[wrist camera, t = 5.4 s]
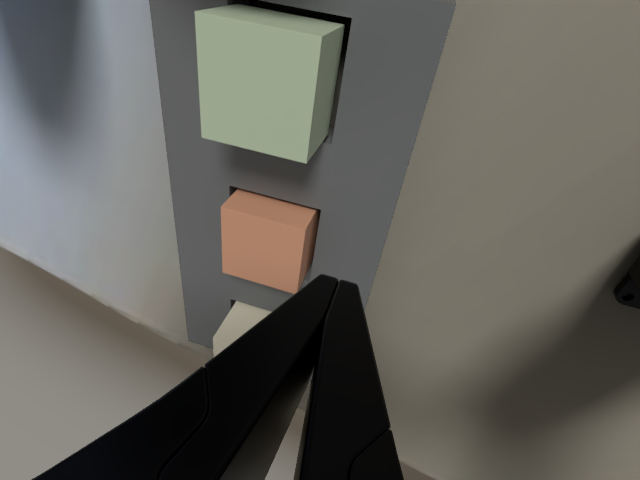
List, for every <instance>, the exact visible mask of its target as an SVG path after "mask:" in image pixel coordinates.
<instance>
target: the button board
mask: <svg viewBox="0 0 640 480" xmlns="http://www.w3.org/2000/svg"><path fill="white" fill-rule="evenodd" d="M260 1H266V2H271V3H276V4H281V5H286V6H292V7H297V8H302V9H307V10H312V11H318V12H323V13H328V14H333V15H339V16H344V17H349V18H352V21H351V27H350V33H349V40H348V46H347V52H346V58H345V64H344V71H343V77H342V83H341V89H340V96H339V102H338V108H337V114H336V120H335V127H334V128H331V127H329V133H328V135H327V136H326V138H325V139H324V140H323V142H322V143H321V144H320V146H319V147H318V149H317V150H316V151H315V153H314V154H313V155H312V157H311V158H310V160H309V161H308V162H307V164H306V163H301V162H297V161H293V160H289V159H285V158H281V157H277V156H273V155H269V154H265V153H261V152H257V151H253V150H249V149H245V148H241V147H237V146H233V145H229V144H225V143H221V142H217V141H213V140H209V139H205V138H202V136H201V118H200V100H199V82H198V64H197V46H196V29H195V11H198V10H204V9H210V8H216V7H222V6H228V5H235V4H243V5H248V0H149V3H150V11H151V20H152V29H153V37H154V46H155V54H156V63H157V72H158V80H159V89H160V98H161V106H162V115H163V123H164V132H165V141H166V149H167V158H168V167H169V175H170V184H171V192H172V201H173V210H174V218H175V227H176V236H177V244H178V253H179V261H180V270H181V279H182V287H183V296H184V305H185V313H186V322H187V330H188V339H189V341H191V342H194V343H197V344H200V345H203V346H206V347H209V348H212V349H213V337H214V335H215V334H216V332H217V331H218V329H219V327H220V326H221V324H222V323H223V321H224V320H225V318H226V317H227V315H228V313H229V312H230V310H231V309H232V307H233V306H234V304H235V302H236V301H239V302H242V303H245V304H248V305H252V306H255V307H258V308H261V309H265V310H268V311H271V312H272V311H274V310H275V309H276V308H277V307H279V306H280V305H281V304H282V303H284V302H285V301H286V300H288V299H289V298H290V297H291V296H293V295H294V294H293V293H290V292H286V291H283V290H280V289H276V288H273V287H270V286H266V285H263V284H260V283H256V282H253V281H250V280H246V279H243V278H239V277H236V276H233V275H229V274H226V273H223V272H222V236H221V206H222V205H223V204H224V203H225V202H226V201H227V199H228V198H229V197H230V196H231V195H232V194H233V193H234V192H235V191H236V190H237V189H238V188H240V189H244V190H248V191H252V192H256V193H259V194H263V195H267V196H271V197H274V198H278V199H282V200H286V201H290V202H293V203H297V204H301V205H305V206H308V207H312V208H316V209H320V210H321V213H320V220H319V226H318V232H317V238H316V245H315V251H314V257H313V261H312V263H311V265H310V267H309V269H308V271H307V274H306V276H305V278H304V280H303V282H302V284H301V286H300V289H302V288H303V287H304V286H305V285H307V284H308V283H309V282H311V281H312V280H313V279H314V278H316V277H317V276H318V275H320V274H325V275H328V276H332V277H335V278H337V279H338V282H339V281H340V280H346V281H349V282H353V283H356V284H357V285H358V287H359V291H360V295H361V299H362V304H363V308H364V310H365V307H366V304H367V300H368V297H369V294H370V290H371V287H372V284H373V280H374V277H375V274H376V270H377V267H378V264H379V260H380V257H381V253H382V250H383V247H384V243H385V240H386V237H387V233H388V230H389V227H390V223H391V220H392V217H393V213H394V210H395V207H396V203H397V200H398V197H399V193H400V190H401V187H402V183H403V180H404V177H405V173H406V170H407V167H408V163H409V160H410V156H411V153H412V150H413V146H414V143H415V140H416V136H417V133H418V130H419V126H420V123H421V120H422V116H423V113H424V110H425V106H426V103H427V100H428V96H429V93H430V90H431V86H432V83H433V80H434V76H435V73H436V70H437V66H438V63H439V59H440V56H441V53H442V49H443V46H444V43H445V39H446V36H447V33H448V29H449V26H450V23H451V19H452V16H453V13H454V9H455V6H456V1H455V0H260ZM300 289H299V290H300ZM312 375H313V373H312ZM312 375H311V378H310V380H309V381H311V380H312Z"/></svg>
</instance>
